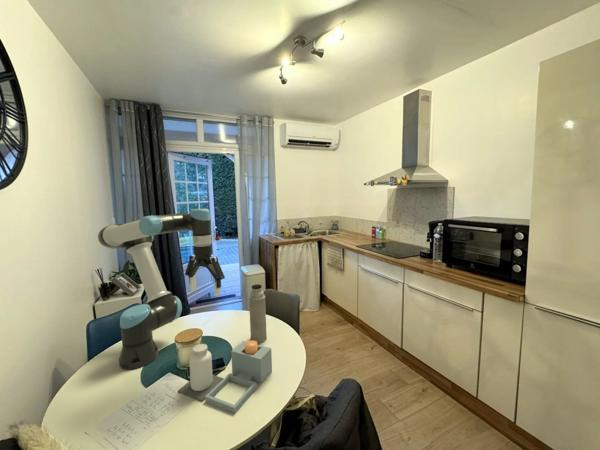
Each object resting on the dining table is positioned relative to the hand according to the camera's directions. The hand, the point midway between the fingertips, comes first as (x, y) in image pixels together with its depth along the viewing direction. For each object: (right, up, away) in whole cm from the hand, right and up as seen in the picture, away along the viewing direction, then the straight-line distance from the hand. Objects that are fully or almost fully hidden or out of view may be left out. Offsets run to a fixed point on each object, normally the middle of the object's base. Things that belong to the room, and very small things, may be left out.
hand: (205, 293), depth 114 cm
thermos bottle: (+20, -29, +20) cm, 40 cm away
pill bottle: (+4, -32, -13) cm, 35 cm away
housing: (+18, -32, -13) cm, 39 cm away
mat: (+4, -32, -13) cm, 35 cm away
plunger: (+21, -26, -7) cm, 34 cm away
